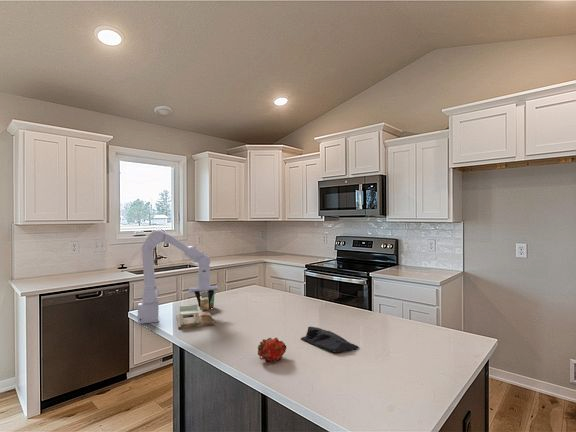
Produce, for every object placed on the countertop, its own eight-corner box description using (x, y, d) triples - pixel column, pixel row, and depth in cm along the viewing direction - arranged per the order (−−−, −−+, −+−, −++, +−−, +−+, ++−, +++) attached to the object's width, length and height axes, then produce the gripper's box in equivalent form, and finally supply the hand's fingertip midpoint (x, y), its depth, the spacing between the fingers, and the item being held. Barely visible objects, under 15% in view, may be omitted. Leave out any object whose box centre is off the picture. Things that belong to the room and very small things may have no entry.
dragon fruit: (254, 368, 112) (283, 364, 119) (266, 360, 107) (295, 357, 114) (250, 343, 117) (278, 341, 124) (261, 334, 112) (290, 332, 119)
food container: (212, 311, 175) (212, 292, 175) (201, 311, 175) (201, 292, 175) (218, 305, 188) (218, 287, 188) (207, 305, 188) (207, 287, 188)
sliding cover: (180, 325, 149) (180, 309, 149) (179, 320, 155) (179, 306, 155) (198, 323, 152) (198, 308, 152) (197, 318, 158) (197, 304, 158)
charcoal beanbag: (331, 358, 118) (331, 345, 118) (297, 339, 137) (297, 327, 137) (362, 349, 126) (362, 337, 126) (327, 332, 144) (327, 321, 144)
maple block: (200, 310, 163) (200, 299, 163) (199, 307, 167) (199, 298, 167) (208, 309, 165) (208, 299, 165) (207, 307, 168) (207, 297, 168)
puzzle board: (178, 329, 147) (178, 326, 147) (176, 316, 166) (176, 314, 166) (214, 325, 153) (214, 322, 153) (208, 313, 171) (208, 311, 172)
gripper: (217, 276, 172) (217, 302, 172) (188, 278, 167) (188, 305, 167) (219, 278, 166) (219, 305, 166) (189, 280, 160) (189, 308, 160)
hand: (204, 305), depth 166 cm, fingers closed on maple block, 4 cm apart
